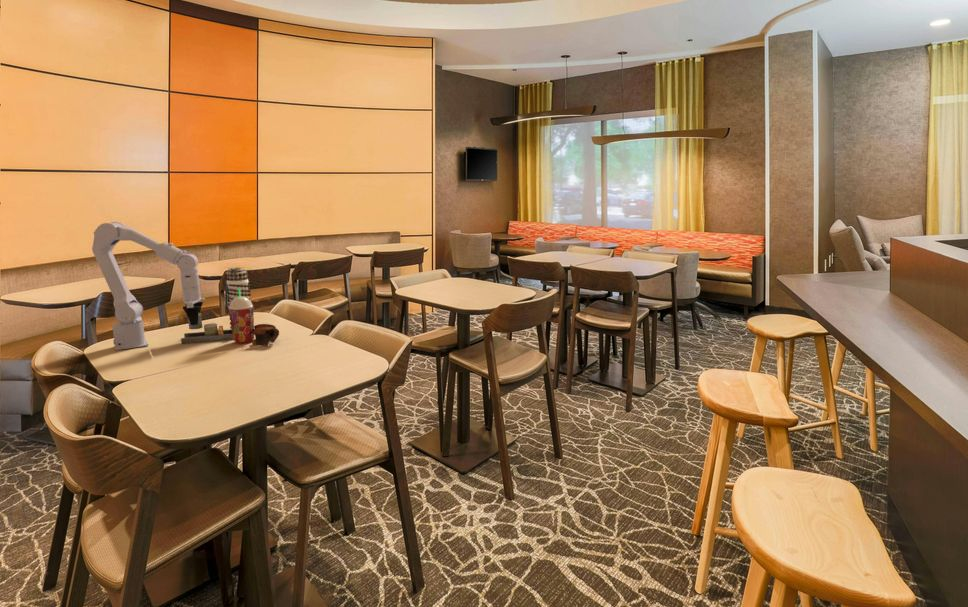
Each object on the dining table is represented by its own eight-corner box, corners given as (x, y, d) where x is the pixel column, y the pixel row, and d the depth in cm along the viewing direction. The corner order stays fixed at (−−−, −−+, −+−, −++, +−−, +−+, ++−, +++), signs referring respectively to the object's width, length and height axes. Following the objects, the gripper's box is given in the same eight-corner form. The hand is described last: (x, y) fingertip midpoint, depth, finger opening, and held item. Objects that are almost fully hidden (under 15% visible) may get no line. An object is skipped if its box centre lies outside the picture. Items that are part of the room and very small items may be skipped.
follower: (218, 339, 199) (217, 329, 198) (220, 335, 204) (219, 325, 204) (222, 339, 199) (221, 329, 199) (223, 335, 205) (222, 325, 204)
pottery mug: (244, 347, 193) (246, 325, 195) (264, 352, 201) (265, 331, 204) (269, 341, 188) (271, 319, 191) (289, 347, 196) (290, 325, 199)
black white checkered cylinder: (259, 329, 217) (254, 267, 212) (238, 334, 209) (232, 270, 204) (245, 326, 221) (240, 266, 216) (225, 331, 214) (218, 268, 209)
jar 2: (206, 340, 198) (204, 326, 197) (204, 338, 201) (202, 324, 200) (219, 339, 200) (218, 325, 199) (217, 336, 204) (215, 322, 203)
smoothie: (261, 340, 200) (256, 287, 196) (249, 346, 192) (244, 291, 188) (239, 339, 201) (234, 287, 197) (227, 345, 193) (221, 291, 189)
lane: (181, 345, 194) (180, 333, 193) (185, 339, 201) (183, 328, 200) (235, 340, 200) (234, 328, 199) (237, 335, 207) (235, 324, 207)
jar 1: (189, 329, 195) (188, 315, 194) (188, 327, 199) (186, 313, 198) (203, 328, 198) (201, 313, 196) (201, 325, 201) (200, 311, 200)
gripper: (200, 289, 190) (204, 326, 193) (205, 283, 203) (209, 318, 206) (178, 290, 187) (182, 328, 190) (184, 284, 201) (188, 319, 203)
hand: (195, 323), depth 198 cm, fingers closed on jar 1, 4 cm apart
